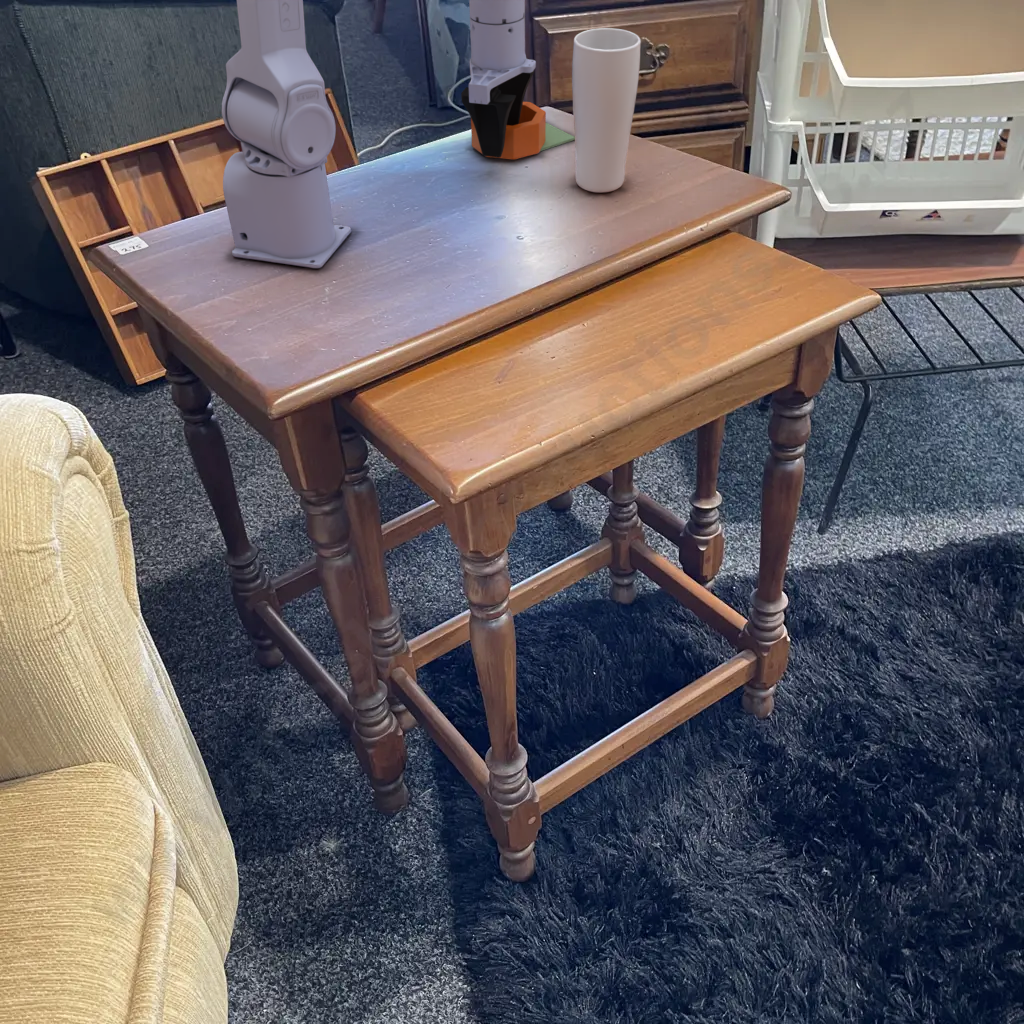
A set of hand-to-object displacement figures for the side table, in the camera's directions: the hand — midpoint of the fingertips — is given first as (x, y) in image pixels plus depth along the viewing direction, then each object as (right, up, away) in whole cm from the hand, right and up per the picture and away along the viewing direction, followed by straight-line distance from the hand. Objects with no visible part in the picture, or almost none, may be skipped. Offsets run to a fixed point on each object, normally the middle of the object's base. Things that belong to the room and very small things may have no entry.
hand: (499, 144), depth 111 cm
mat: (+3, +3, +5) cm, 7 cm away
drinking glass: (+11, -6, -4) cm, 13 cm away
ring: (+1, +1, +3) cm, 4 cm away
